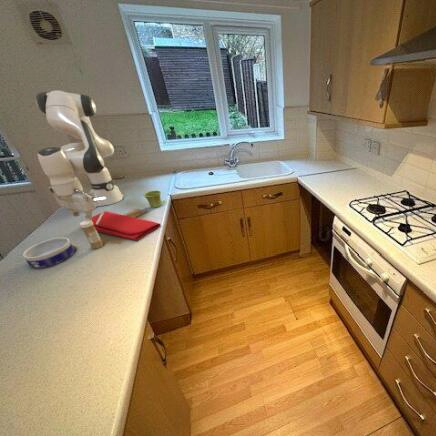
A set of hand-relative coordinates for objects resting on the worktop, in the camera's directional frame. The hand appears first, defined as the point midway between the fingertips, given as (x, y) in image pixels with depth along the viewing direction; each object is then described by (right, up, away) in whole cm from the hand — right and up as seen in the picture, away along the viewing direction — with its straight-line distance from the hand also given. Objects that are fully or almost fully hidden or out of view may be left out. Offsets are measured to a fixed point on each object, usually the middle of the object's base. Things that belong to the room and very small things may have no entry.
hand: (83, 217), depth 106 cm
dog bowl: (-14, -18, +1) cm, 23 cm away
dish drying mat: (0, -6, +23) cm, 24 cm away
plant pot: (+6, +7, +46) cm, 47 cm away
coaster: (-1, +2, +37) cm, 37 cm away
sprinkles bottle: (0, -14, +8) cm, 16 cm away
